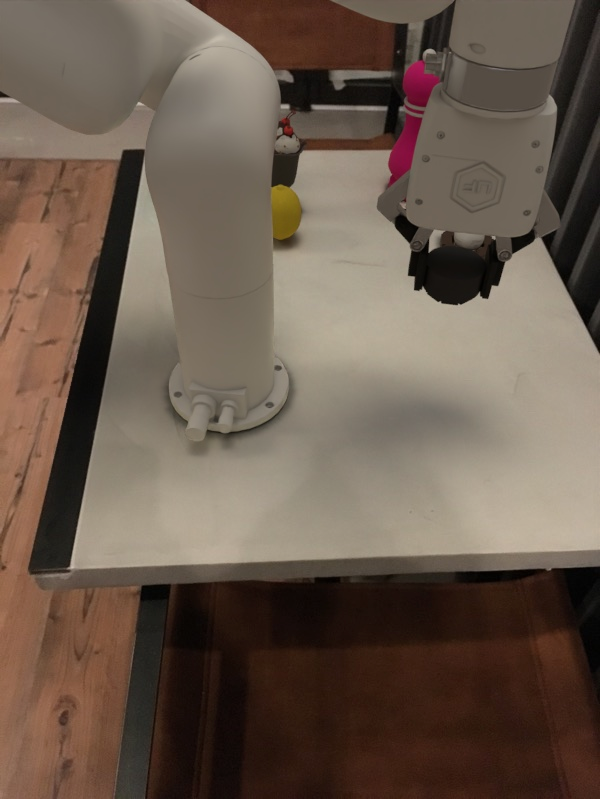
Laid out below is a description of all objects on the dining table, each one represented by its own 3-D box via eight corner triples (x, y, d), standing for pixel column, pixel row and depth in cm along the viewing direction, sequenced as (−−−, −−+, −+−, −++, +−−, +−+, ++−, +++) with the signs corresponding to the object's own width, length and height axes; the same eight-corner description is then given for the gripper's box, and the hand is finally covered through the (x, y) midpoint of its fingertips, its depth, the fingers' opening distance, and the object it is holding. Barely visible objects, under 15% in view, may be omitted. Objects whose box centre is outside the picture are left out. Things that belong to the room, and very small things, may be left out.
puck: (479, 311, 60) (486, 283, 58) (419, 304, 60) (424, 276, 58) (478, 276, 63) (485, 249, 61) (421, 270, 64) (426, 242, 62)
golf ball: (460, 236, 94) (466, 211, 91) (486, 247, 92) (493, 221, 89) (445, 249, 92) (451, 223, 89) (471, 260, 90) (478, 234, 87)
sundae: (304, 225, 95) (307, 118, 84) (255, 223, 95) (253, 116, 84) (304, 200, 100) (308, 96, 89) (258, 199, 100) (256, 94, 89)
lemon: (296, 253, 90) (297, 199, 85) (255, 248, 91) (254, 193, 85) (304, 231, 94) (306, 177, 88) (265, 226, 95) (264, 172, 89)
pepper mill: (432, 180, 105) (457, 41, 90) (434, 205, 100) (460, 61, 85) (385, 177, 105) (402, 37, 91) (384, 201, 100) (402, 58, 86)
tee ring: (494, 266, 89) (496, 258, 89) (440, 261, 90) (441, 253, 89) (490, 236, 94) (492, 229, 93) (439, 232, 95) (441, 224, 94)
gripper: (372, 87, 47) (351, 300, 60) (631, 110, 45) (551, 323, 58) (381, 48, 52) (360, 251, 65) (613, 67, 50) (544, 272, 63)
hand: (451, 283), depth 61 cm, fingers closed on puck, 5 cm apart
